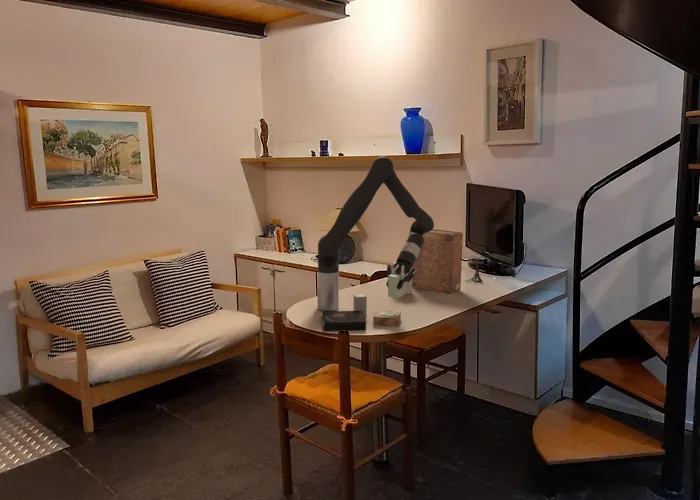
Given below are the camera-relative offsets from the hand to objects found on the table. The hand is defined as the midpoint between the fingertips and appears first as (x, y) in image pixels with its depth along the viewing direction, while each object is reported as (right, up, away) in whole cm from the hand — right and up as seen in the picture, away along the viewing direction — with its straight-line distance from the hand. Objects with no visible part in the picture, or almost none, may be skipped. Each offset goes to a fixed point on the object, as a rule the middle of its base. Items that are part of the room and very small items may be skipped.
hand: (393, 287), depth 252 cm
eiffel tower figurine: (+51, -2, +77) cm, 92 cm away
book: (+26, -4, +60) cm, 65 cm away
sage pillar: (+1, -4, +2) cm, 5 cm away
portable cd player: (-21, -16, -4) cm, 27 cm away
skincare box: (+8, -6, +50) cm, 51 cm away
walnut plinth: (-3, -15, -1) cm, 15 cm away
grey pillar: (-14, -13, +9) cm, 21 cm away
